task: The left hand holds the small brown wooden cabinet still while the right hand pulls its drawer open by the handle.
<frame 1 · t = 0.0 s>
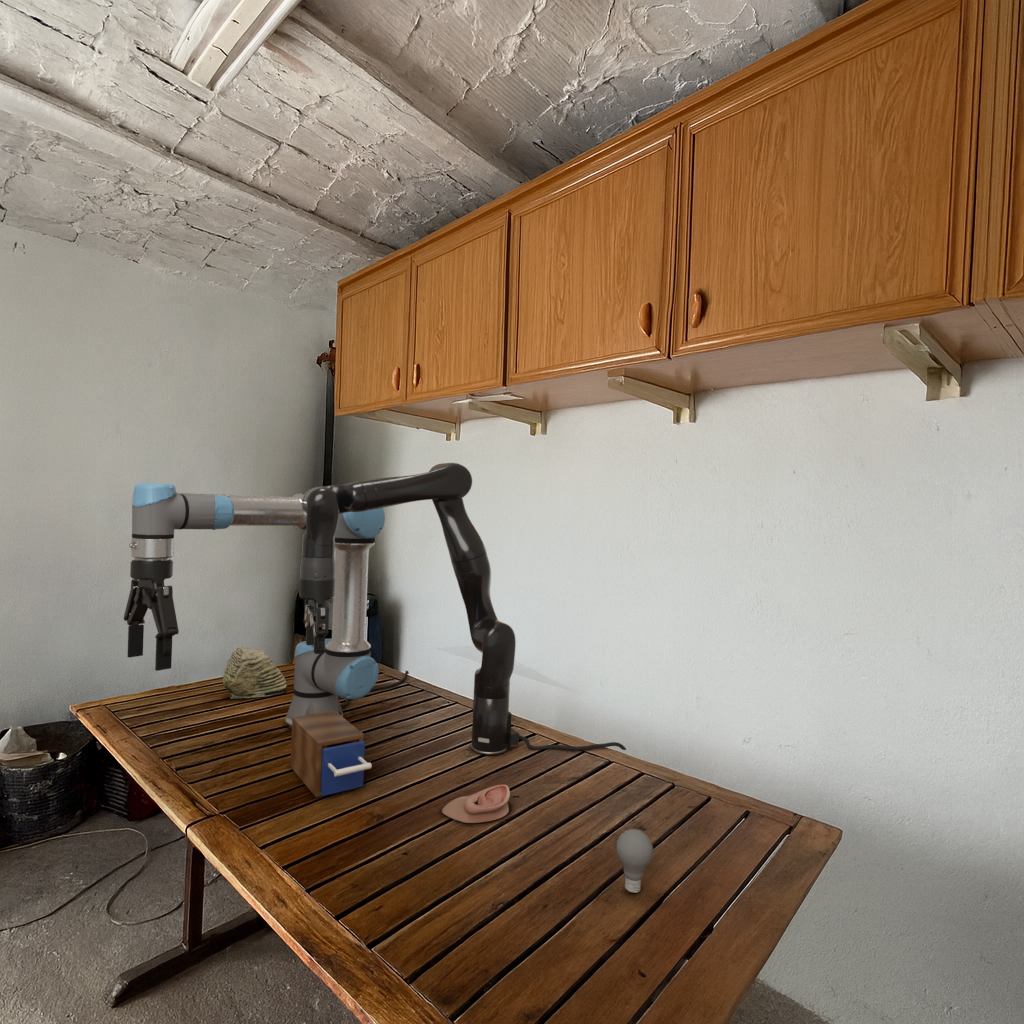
left hand: (148, 662, 129), 28 cm above the table, tool pointing down, fingers open, 13 cm apart
right hand: (314, 649, 141), 29 cm above the table, tool pointing down, fingers open, 8 cm apart
cabinet: (324, 776, 144), on the table
drawer: (334, 759, 139), point 6 cm above the table, slide at 1.0 cm
anatomical model: (476, 811, 131), on the table
light bulb: (632, 891, 106), on the table
fossil: (254, 694, 198), on the table
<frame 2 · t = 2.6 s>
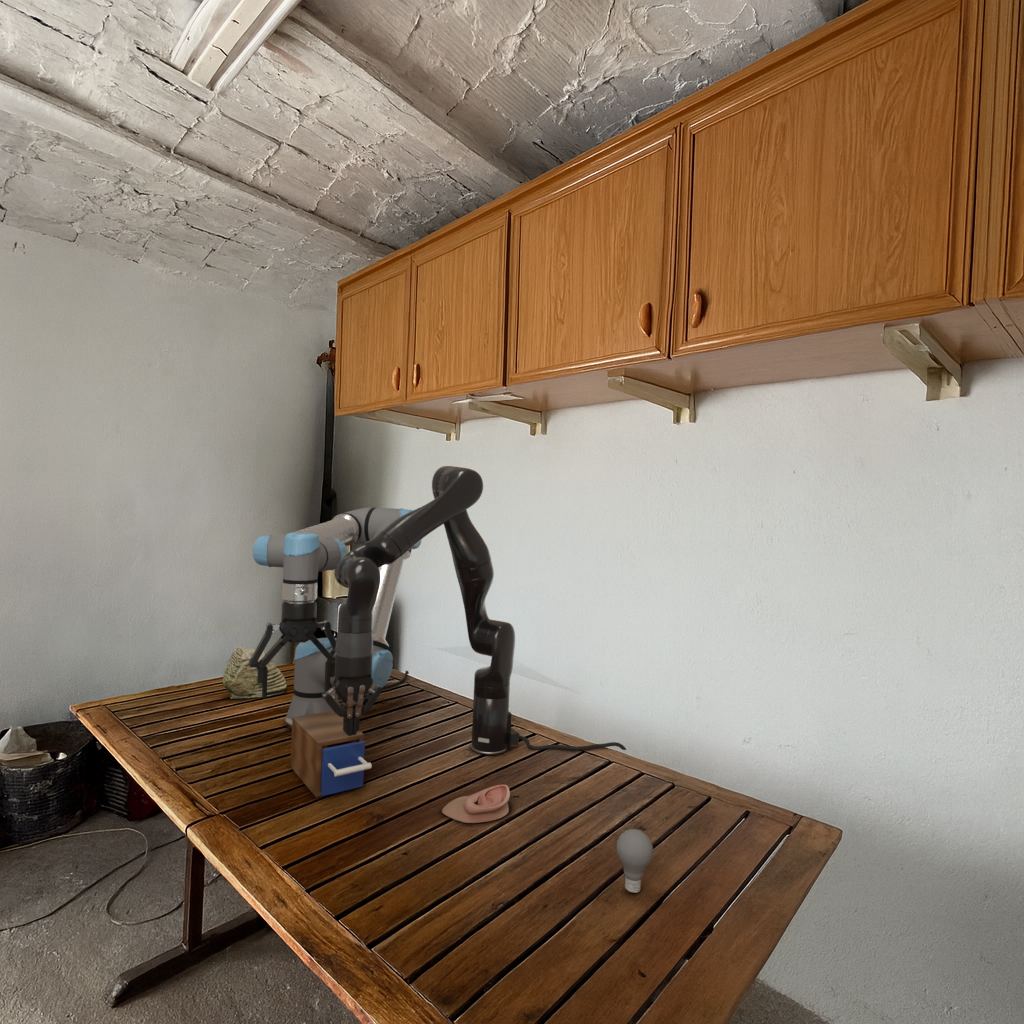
left hand: (296, 694, 144), 18 cm above the table, tool pointing down, fingers open, 13 cm apart
right hand: (351, 734, 132), 14 cm above the table, tool pointing down, fingers closed
nothing on the table moved.
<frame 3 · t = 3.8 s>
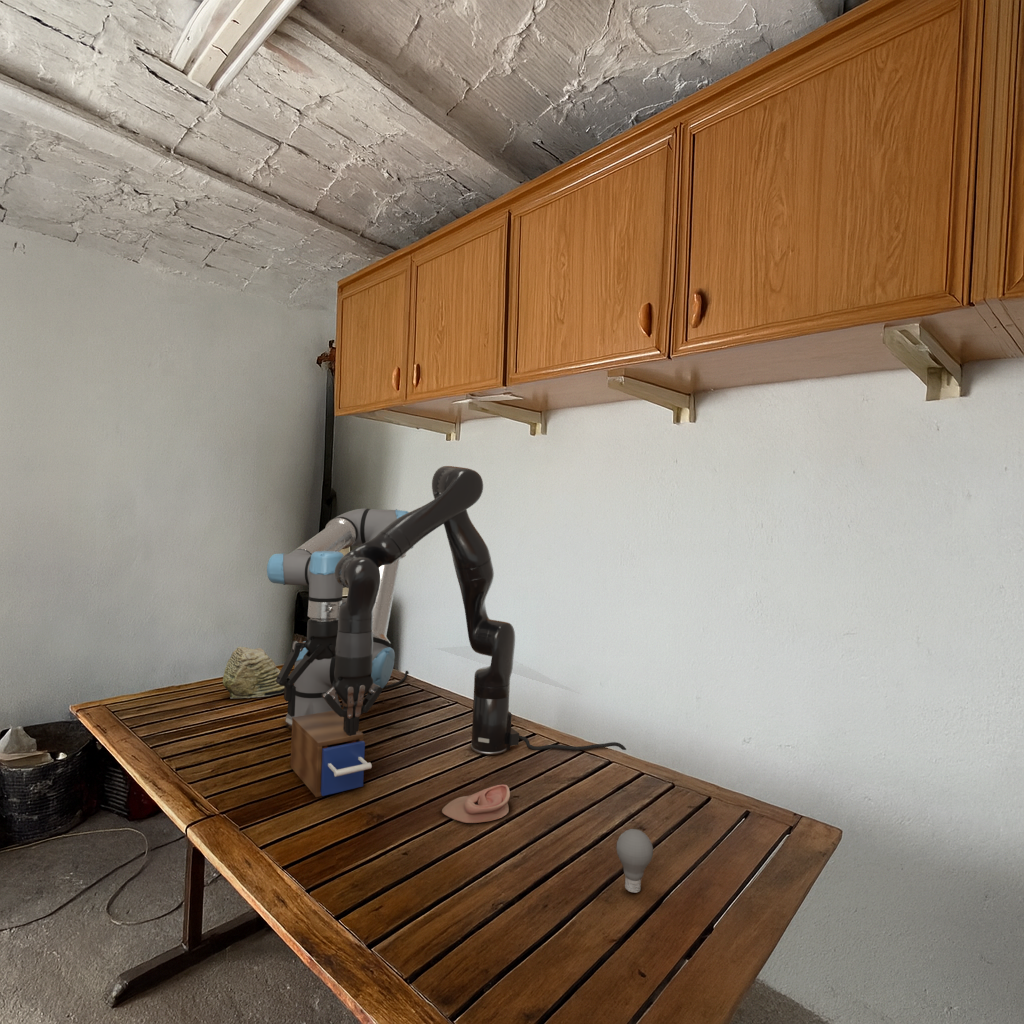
left hand: (320, 710, 146), 14 cm above the table, tool pointing down, fingers open, 13 cm apart
right hand: (351, 734, 132), 14 cm above the table, tool pointing down, fingers closed
nothing on the table moved.
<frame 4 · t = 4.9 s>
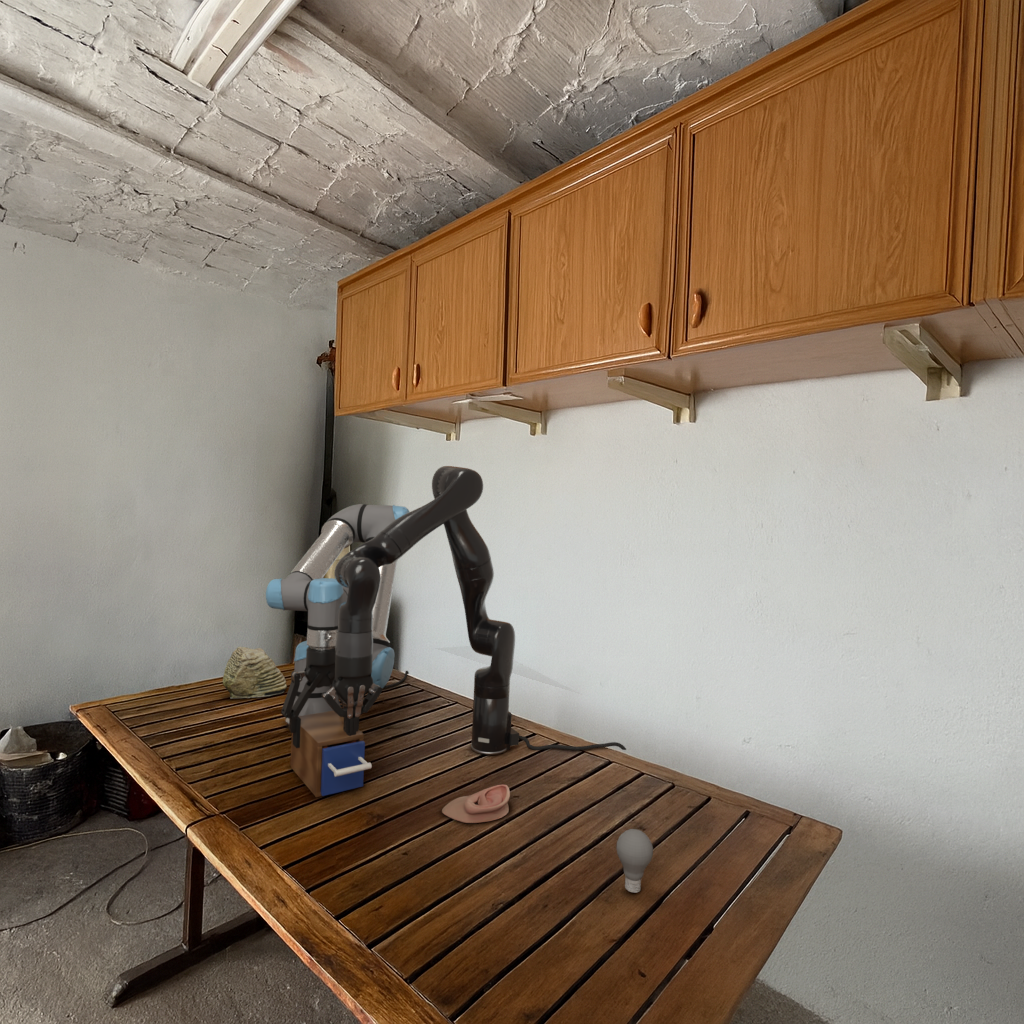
left hand: (319, 741, 147), 7 cm above the table, tool pointing down, fingers closed on cabinet, 10 cm apart
right hand: (351, 734, 132), 14 cm above the table, tool pointing down, fingers closed
cabinet: (324, 776, 144), on the table, touching left hand
everything else where it was.
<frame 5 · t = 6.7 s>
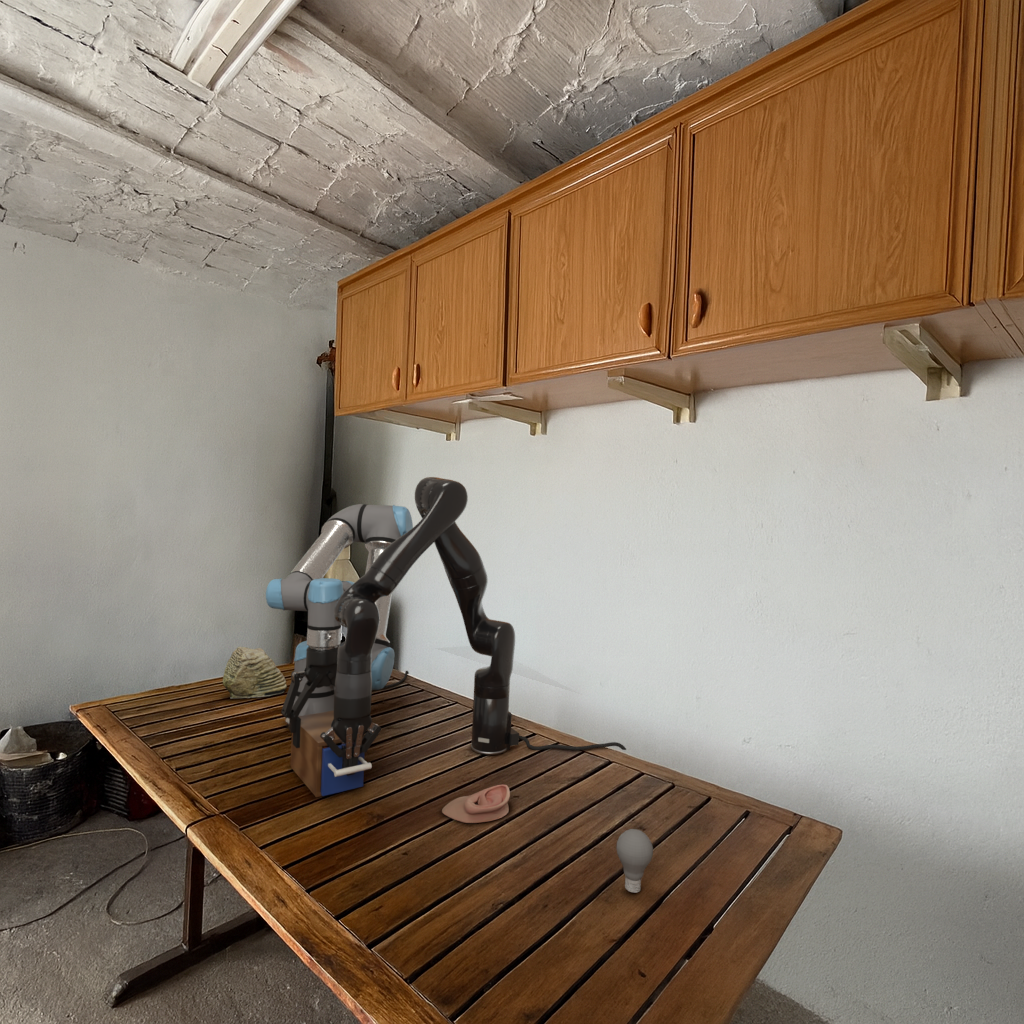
left hand: (319, 741, 147), 7 cm above the table, tool pointing down, fingers closed on cabinet, 10 cm apart
right hand: (349, 773, 132), 6 cm above the table, tool pointing down, fingers closed
cabinet: (325, 776, 144), on the table, touching left hand
drawer: (334, 759, 139), point 6 cm above the table, slide at 1.0 cm, touching right hand
everything else where it was.
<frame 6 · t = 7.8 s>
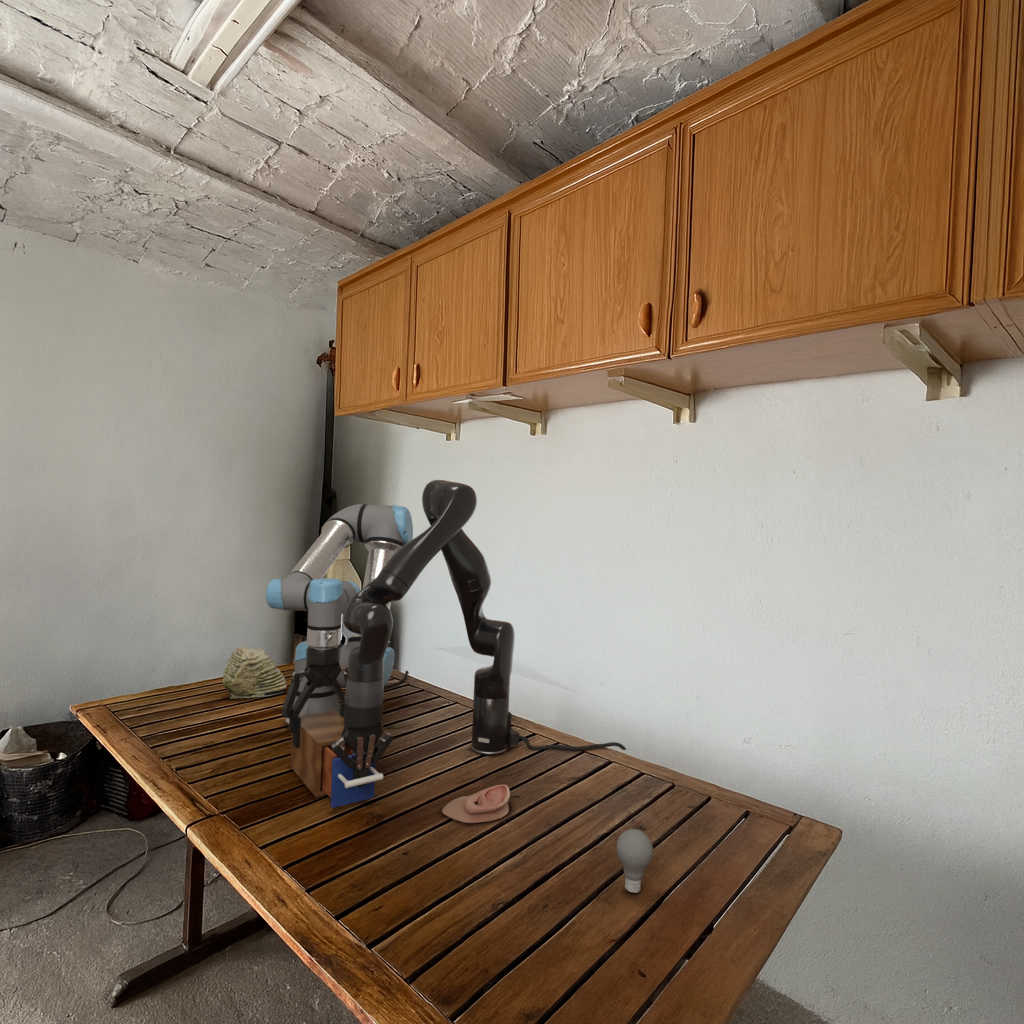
left hand: (319, 741, 147), 7 cm above the table, tool pointing down, fingers closed on cabinet, 10 cm apart
right hand: (360, 784, 127), 6 cm above the table, tool pointing down, fingers closed
cabinet: (325, 776, 144), on the table, touching left hand
drawer: (344, 769, 134), point 6 cm above the table, slide at 6.8 cm, touching right hand
everything else where it was.
when the left hand's fingers open (7 cm above the table, at t = 9.6 s): cabinet stays where it is, on the table.
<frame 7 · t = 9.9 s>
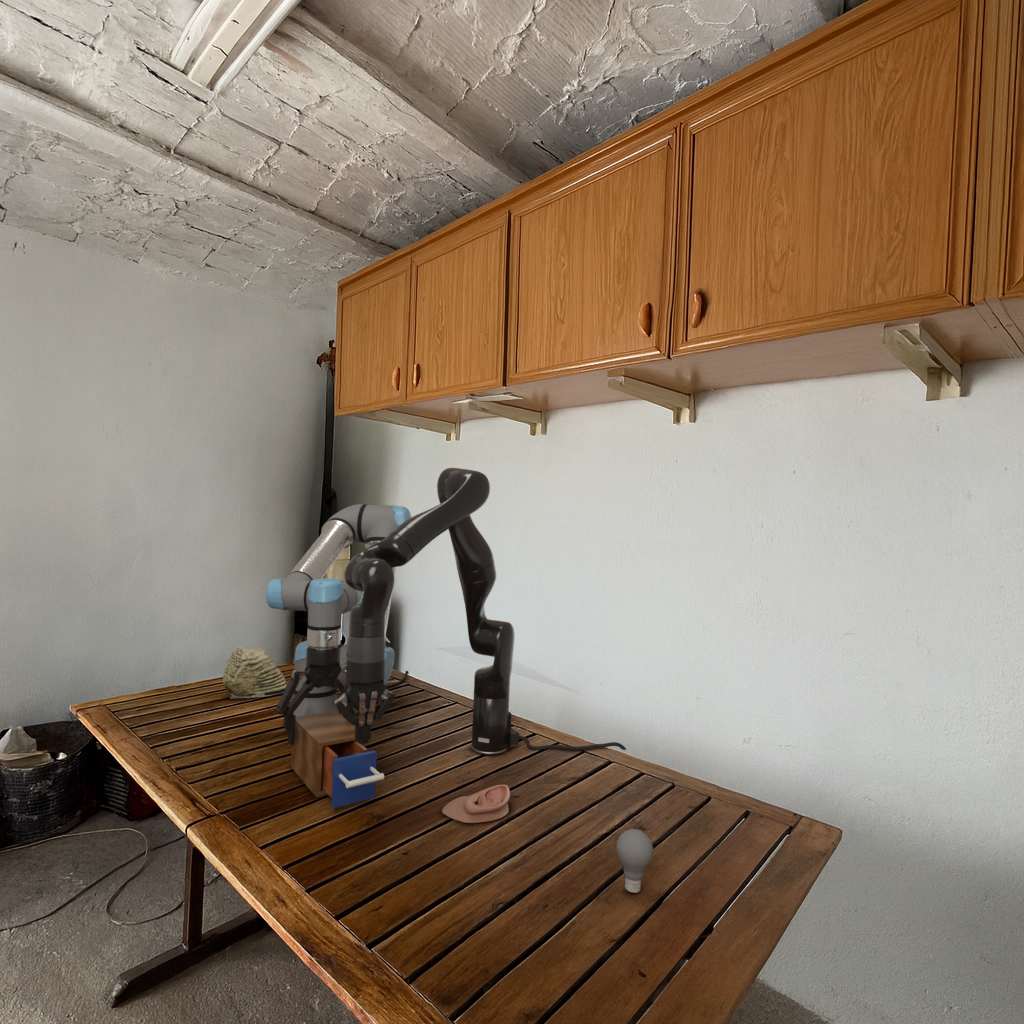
left hand: (320, 737, 147), 7 cm above the table, tool pointing down, fingers open, 13 cm apart
right hand: (362, 742, 127), 15 cm above the table, tool pointing down, fingers closed
cabinet: (325, 776, 144), on the table
drawer: (345, 769, 134), point 6 cm above the table, slide at 6.9 cm
everything else where it was.
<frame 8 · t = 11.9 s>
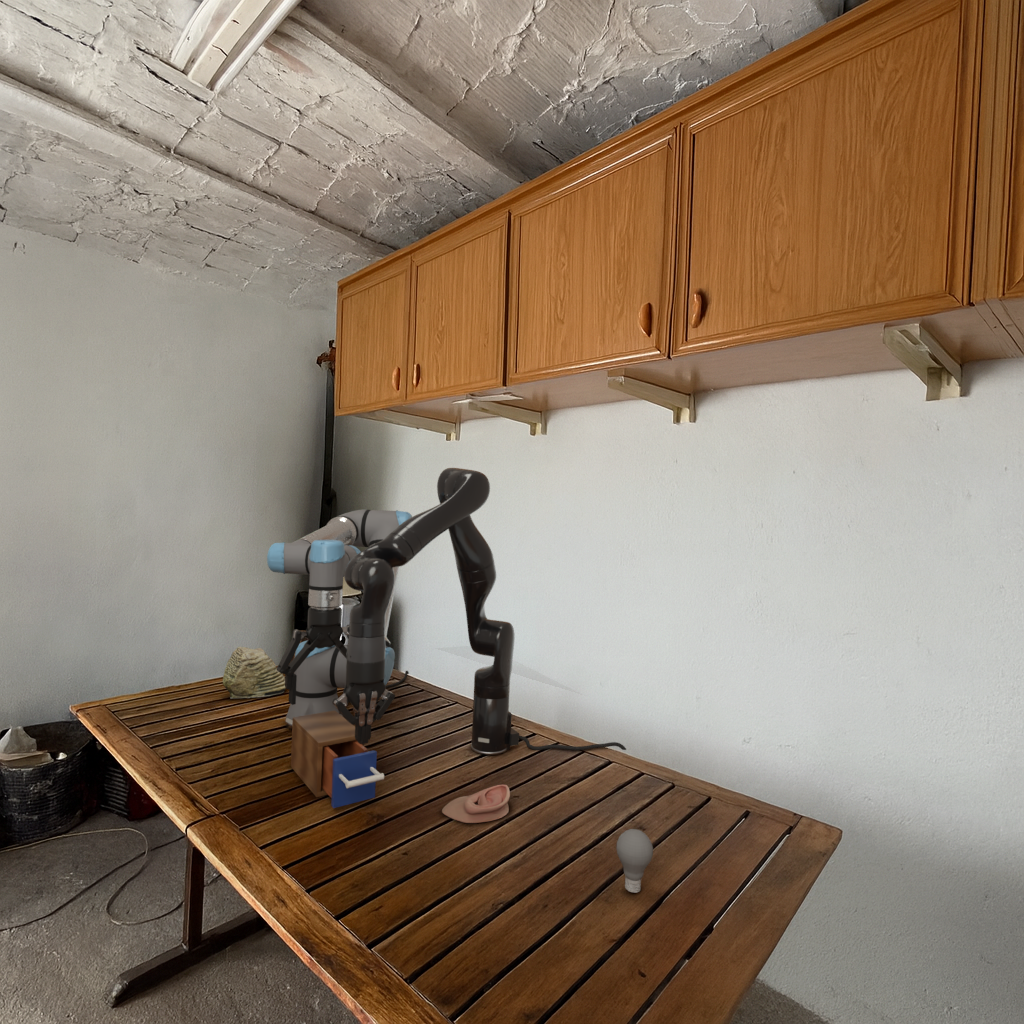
left hand: (321, 698, 147), 17 cm above the table, tool pointing down, fingers open, 13 cm apart
right hand: (362, 742, 127), 15 cm above the table, tool pointing down, fingers closed
nothing on the table moved.
at the end: drawer slide at 6.9 cm; cabinet tilted 0°; cabinet never tilted more than 1° during the clip; cabinet moved 0.1 cm from its start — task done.
